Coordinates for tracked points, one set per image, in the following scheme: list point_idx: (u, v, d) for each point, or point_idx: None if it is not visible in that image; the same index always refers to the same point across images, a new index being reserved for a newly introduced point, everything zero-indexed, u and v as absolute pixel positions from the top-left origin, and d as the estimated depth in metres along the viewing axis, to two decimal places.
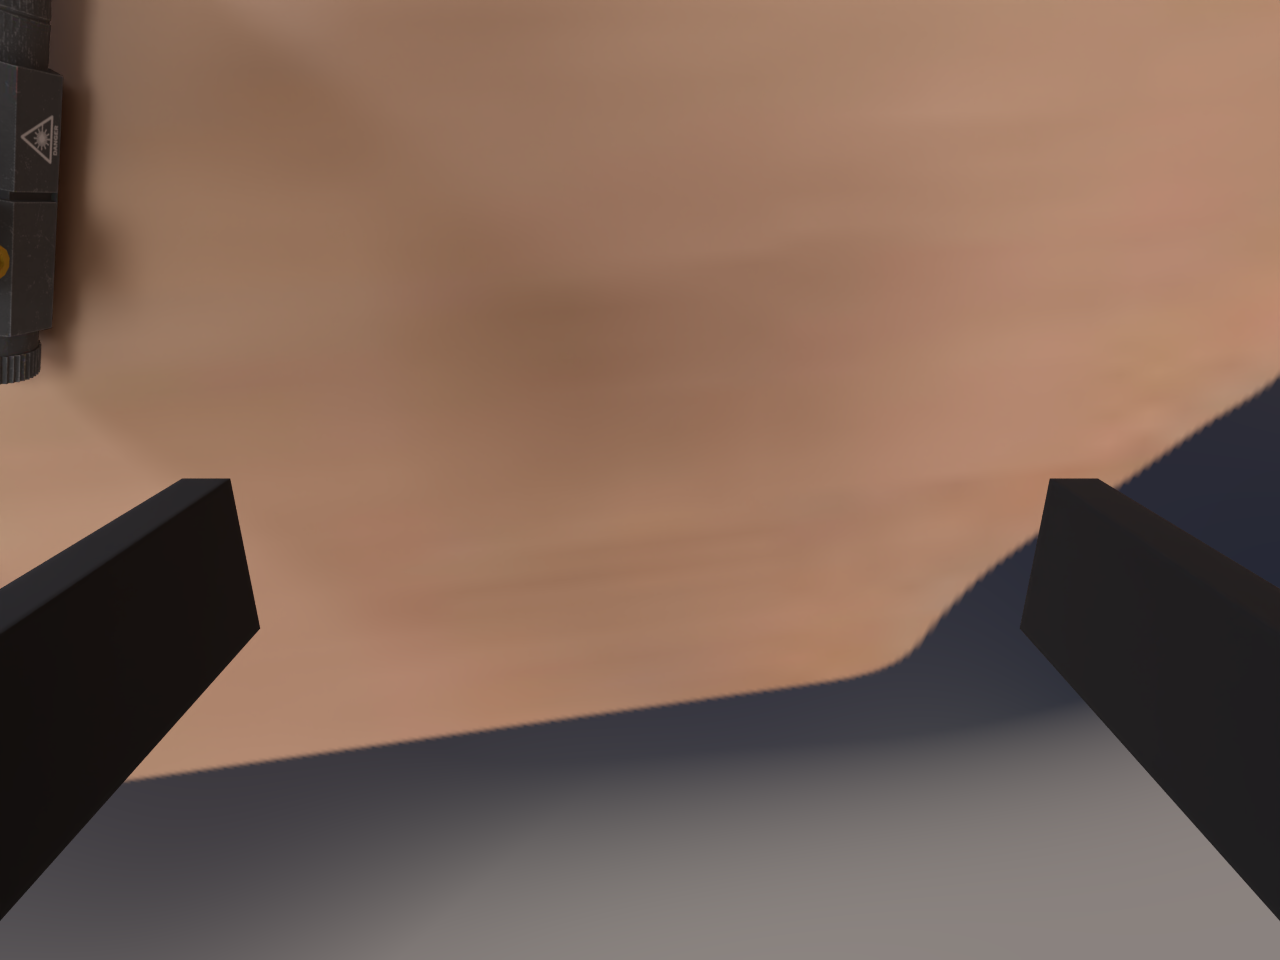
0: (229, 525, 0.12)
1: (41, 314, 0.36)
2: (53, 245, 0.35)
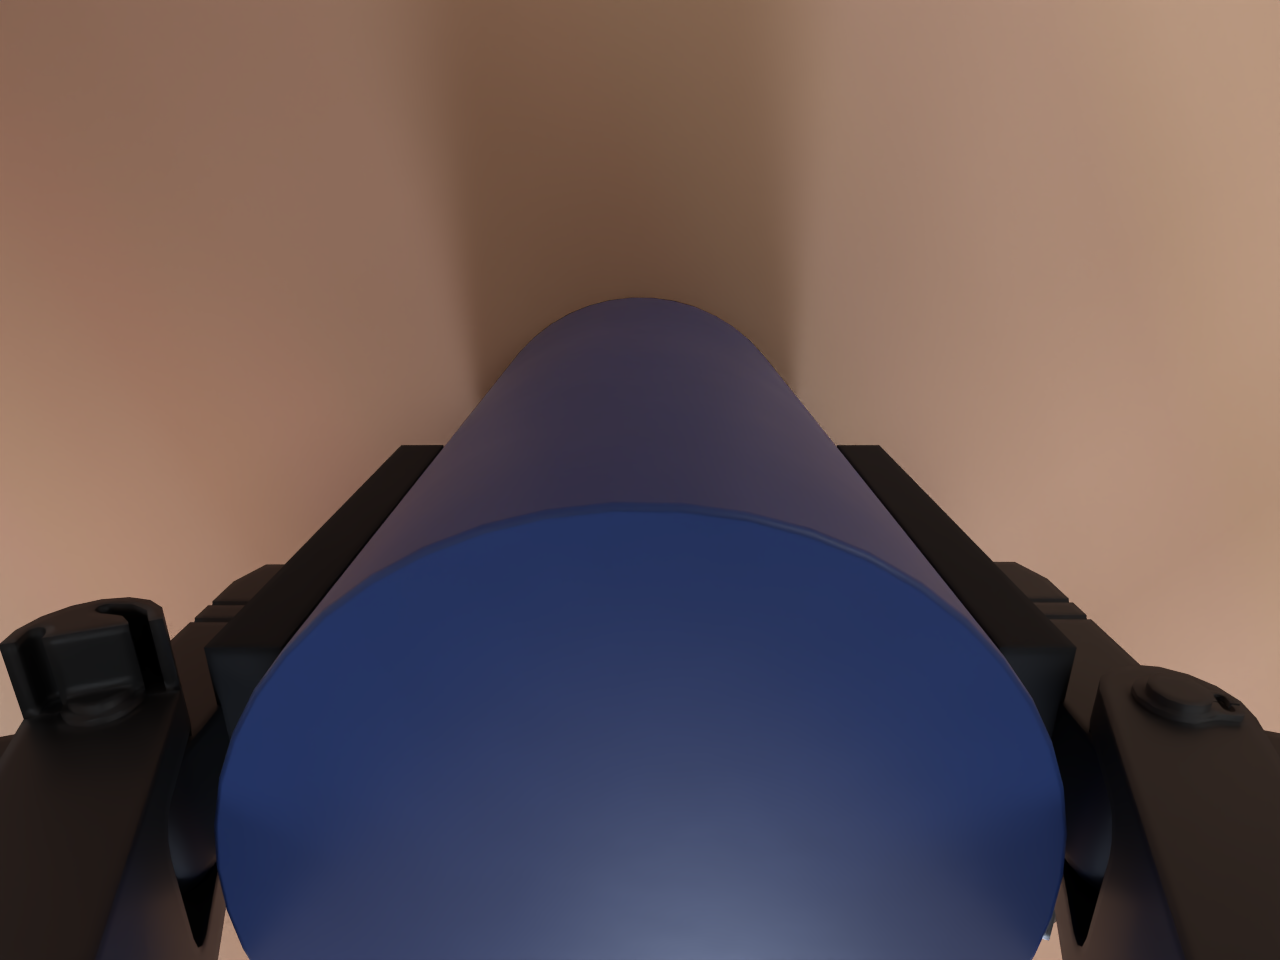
0: None
1: None
2: None
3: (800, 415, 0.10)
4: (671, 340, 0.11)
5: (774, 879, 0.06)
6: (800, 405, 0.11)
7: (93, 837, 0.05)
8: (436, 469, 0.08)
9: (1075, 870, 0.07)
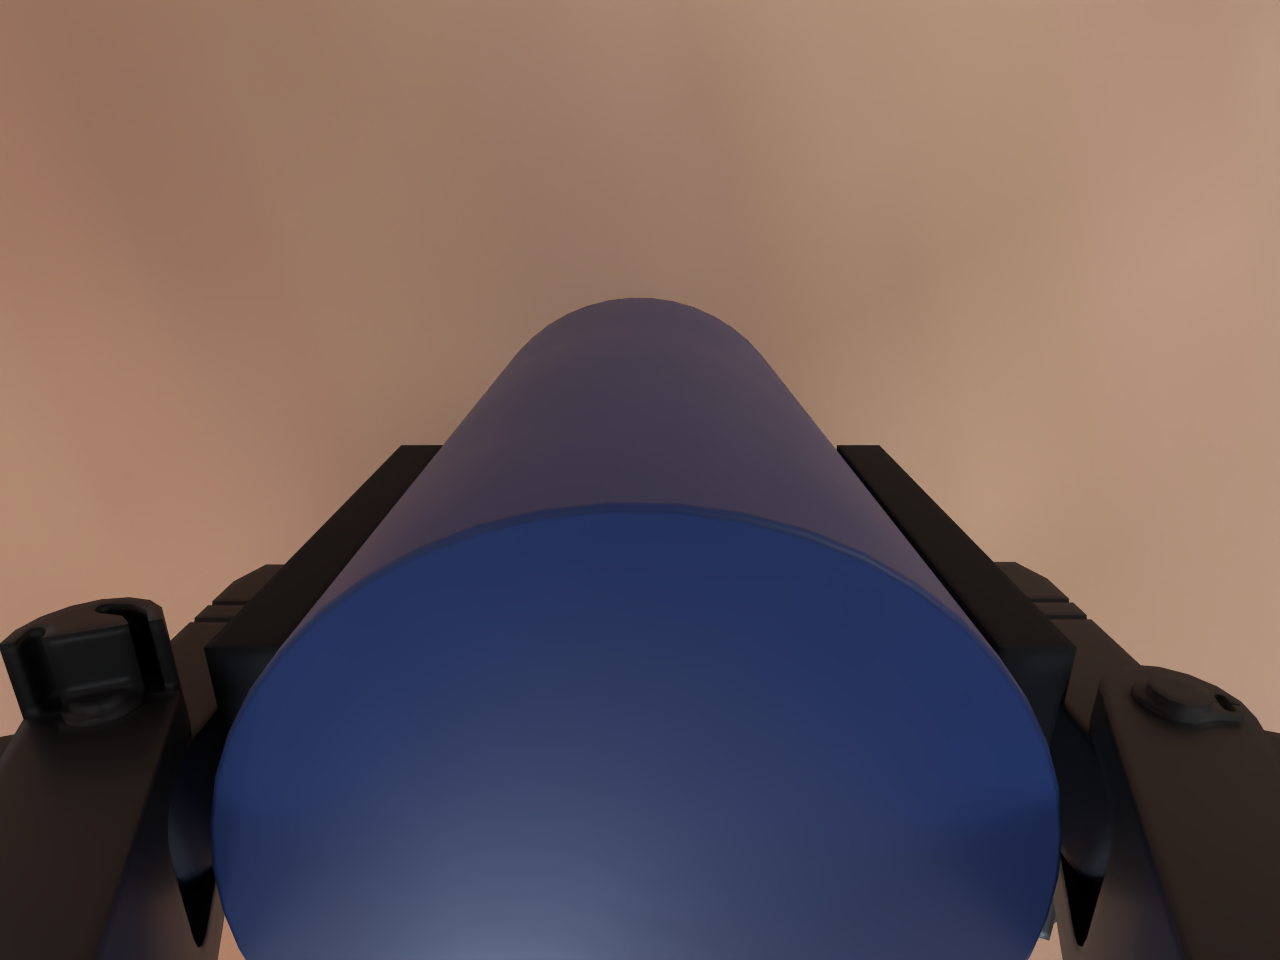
0: None
1: None
2: None
3: (797, 416, 0.10)
4: (669, 340, 0.11)
5: (769, 879, 0.06)
6: (798, 406, 0.11)
7: (94, 836, 0.05)
8: (433, 470, 0.08)
9: (1075, 870, 0.07)
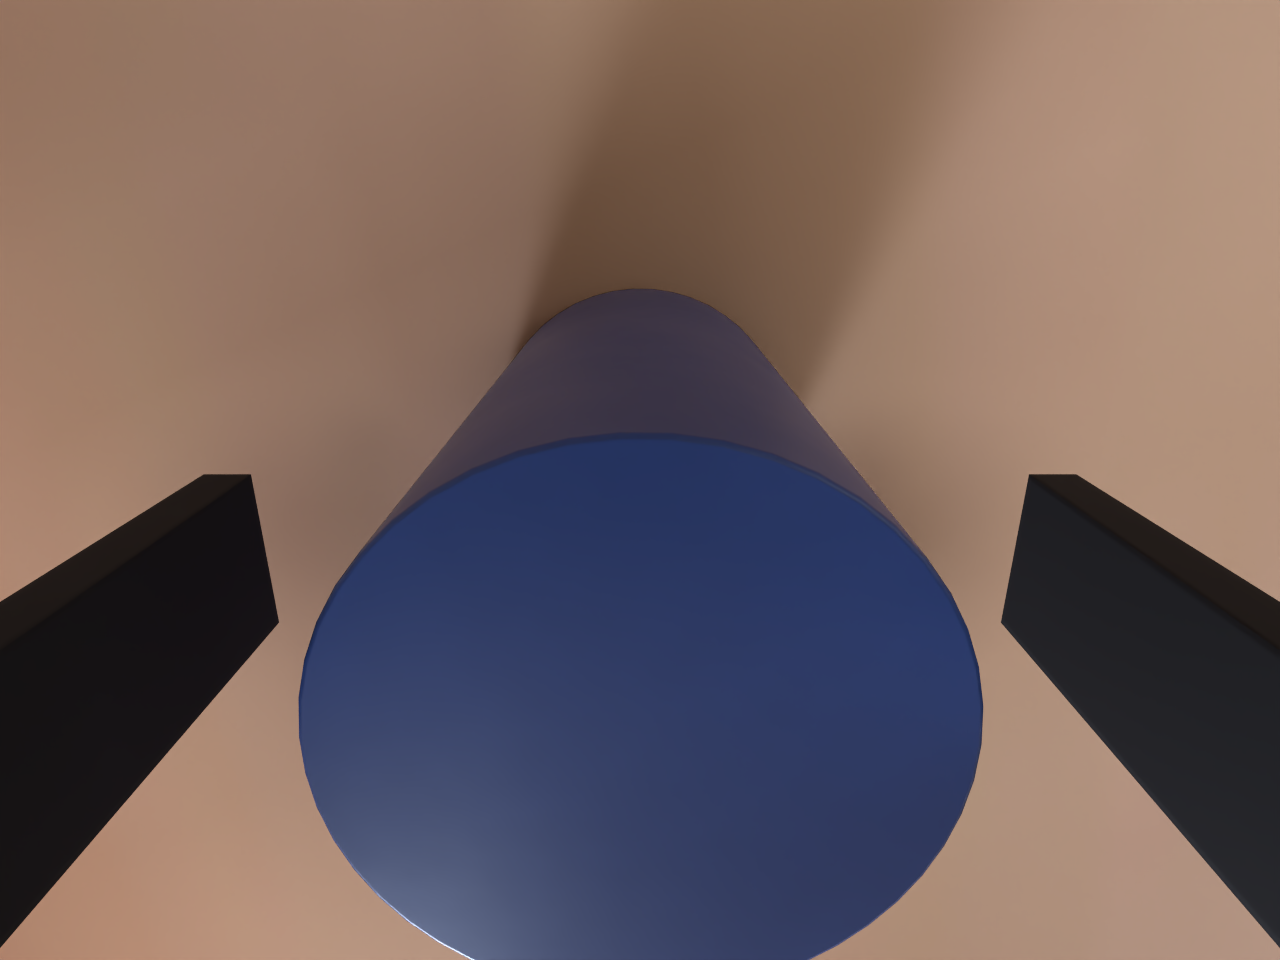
0: (250, 520, 0.12)
1: None
2: None
3: (779, 386, 0.11)
4: (667, 323, 0.13)
5: (747, 747, 0.08)
6: (781, 380, 0.13)
7: None
8: (468, 425, 0.09)
9: None
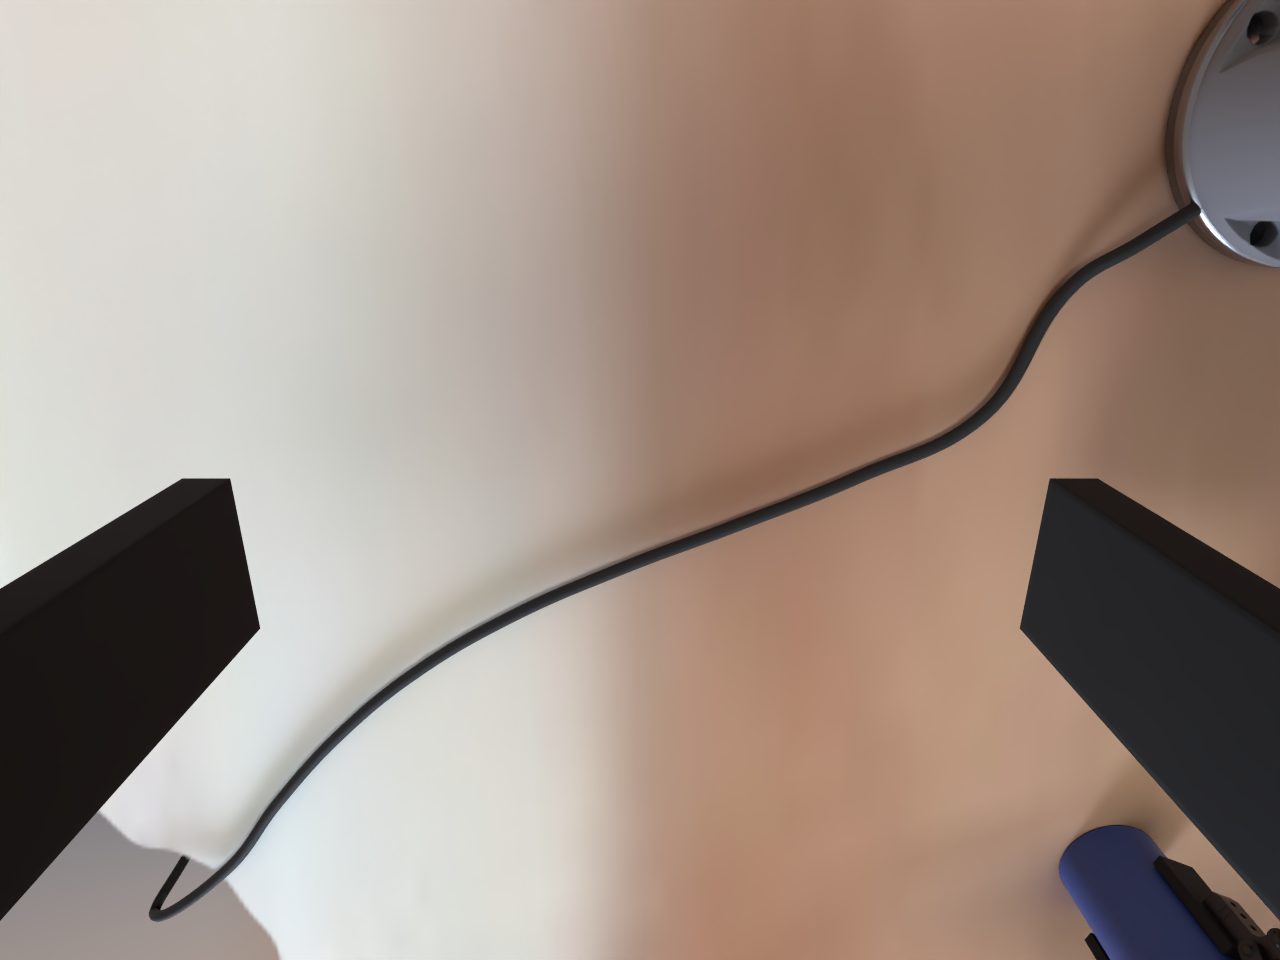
0: (229, 525, 0.12)
1: None
2: None
3: None
4: None
5: None
6: None
7: None
8: (1167, 947, 0.46)
9: None
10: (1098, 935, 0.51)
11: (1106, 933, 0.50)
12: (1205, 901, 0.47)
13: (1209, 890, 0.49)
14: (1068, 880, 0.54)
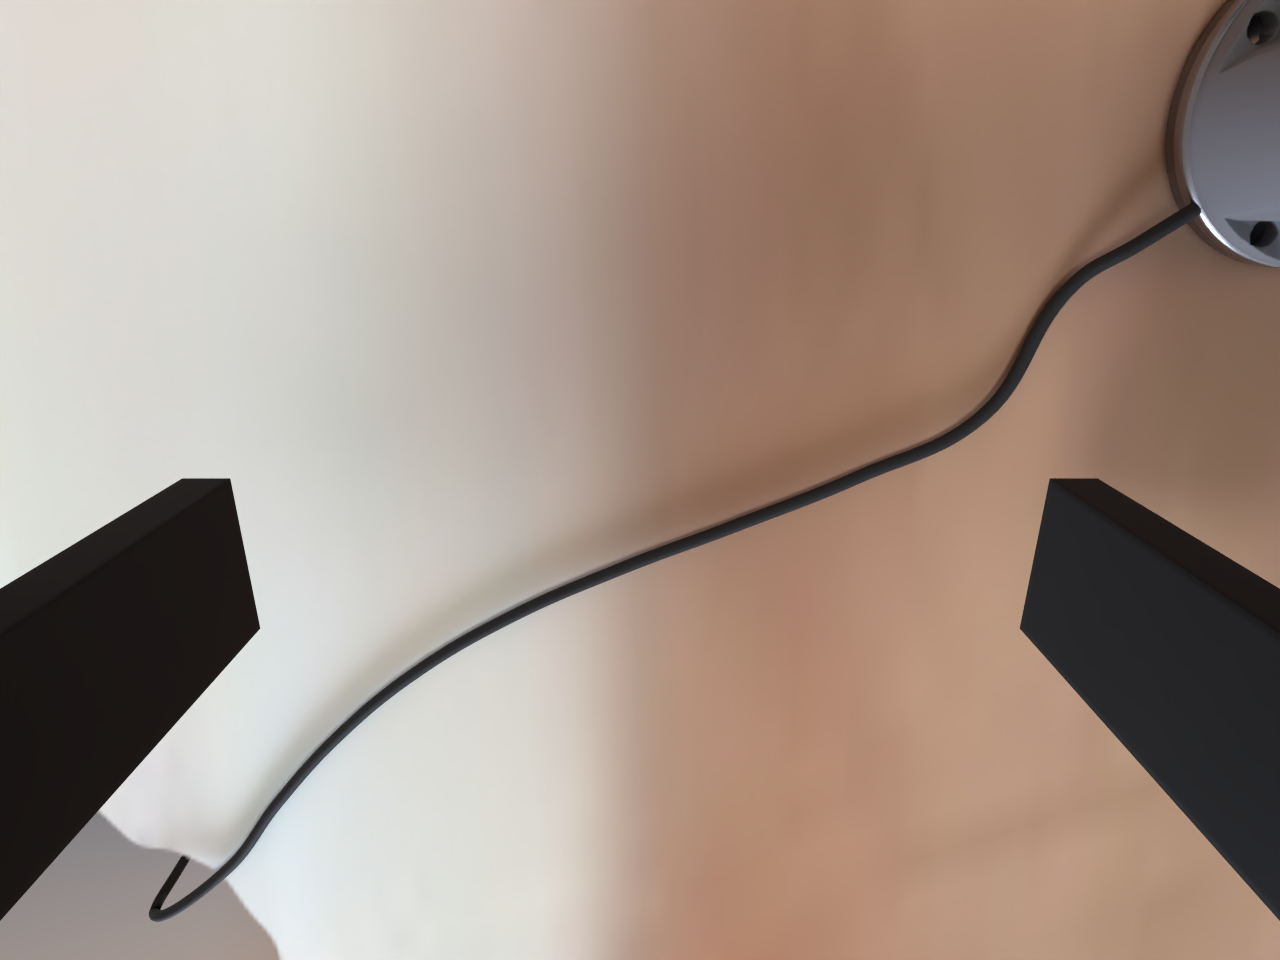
0: (229, 525, 0.12)
1: None
2: None
3: None
4: None
5: None
6: None
7: None
8: None
9: None
10: None
11: None
12: None
13: None
14: None
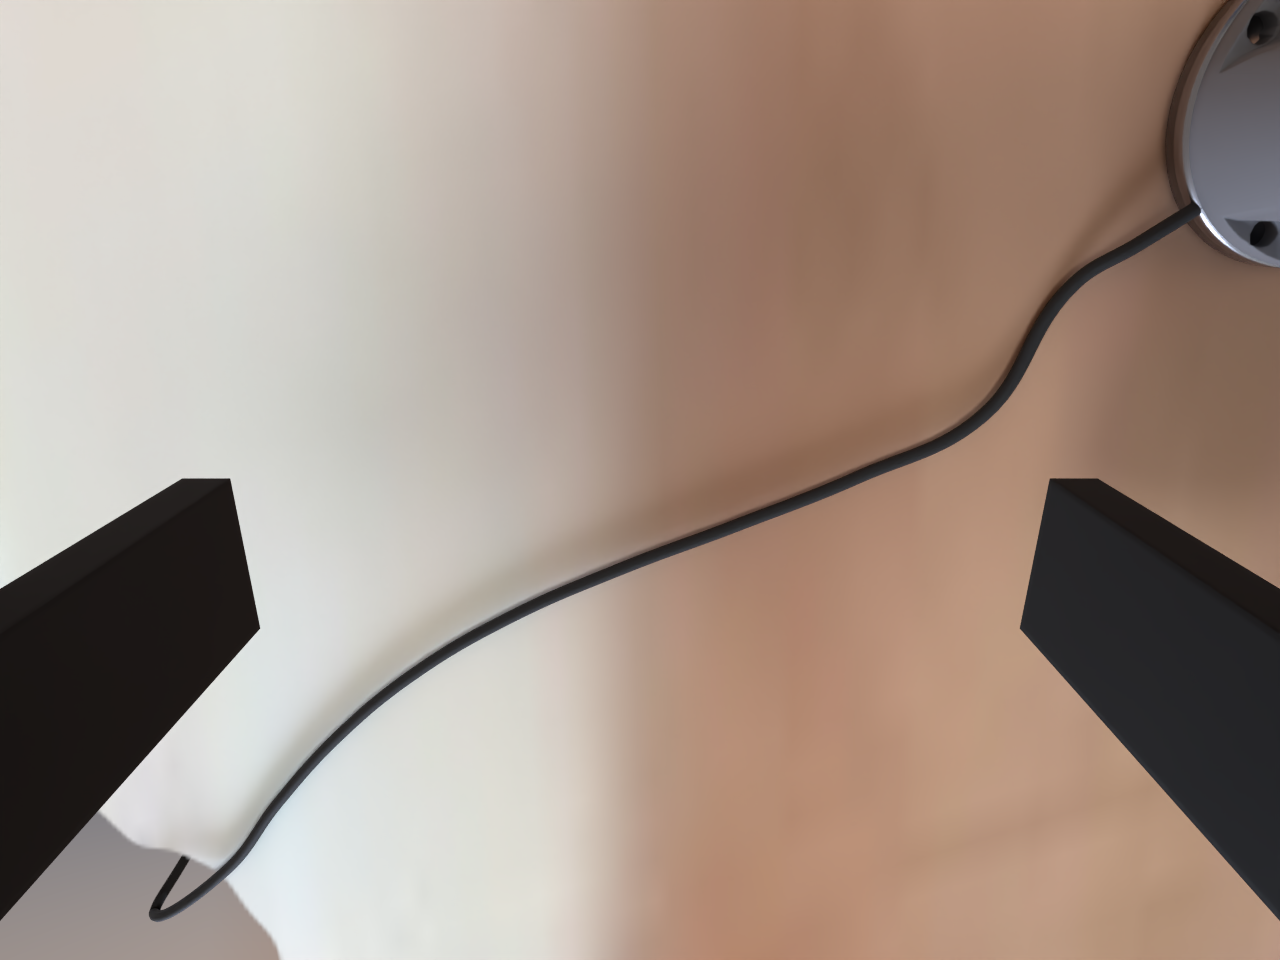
0: (229, 525, 0.12)
1: None
2: None
3: None
4: None
5: None
6: None
7: None
8: None
9: None
10: None
11: None
12: None
13: None
14: None
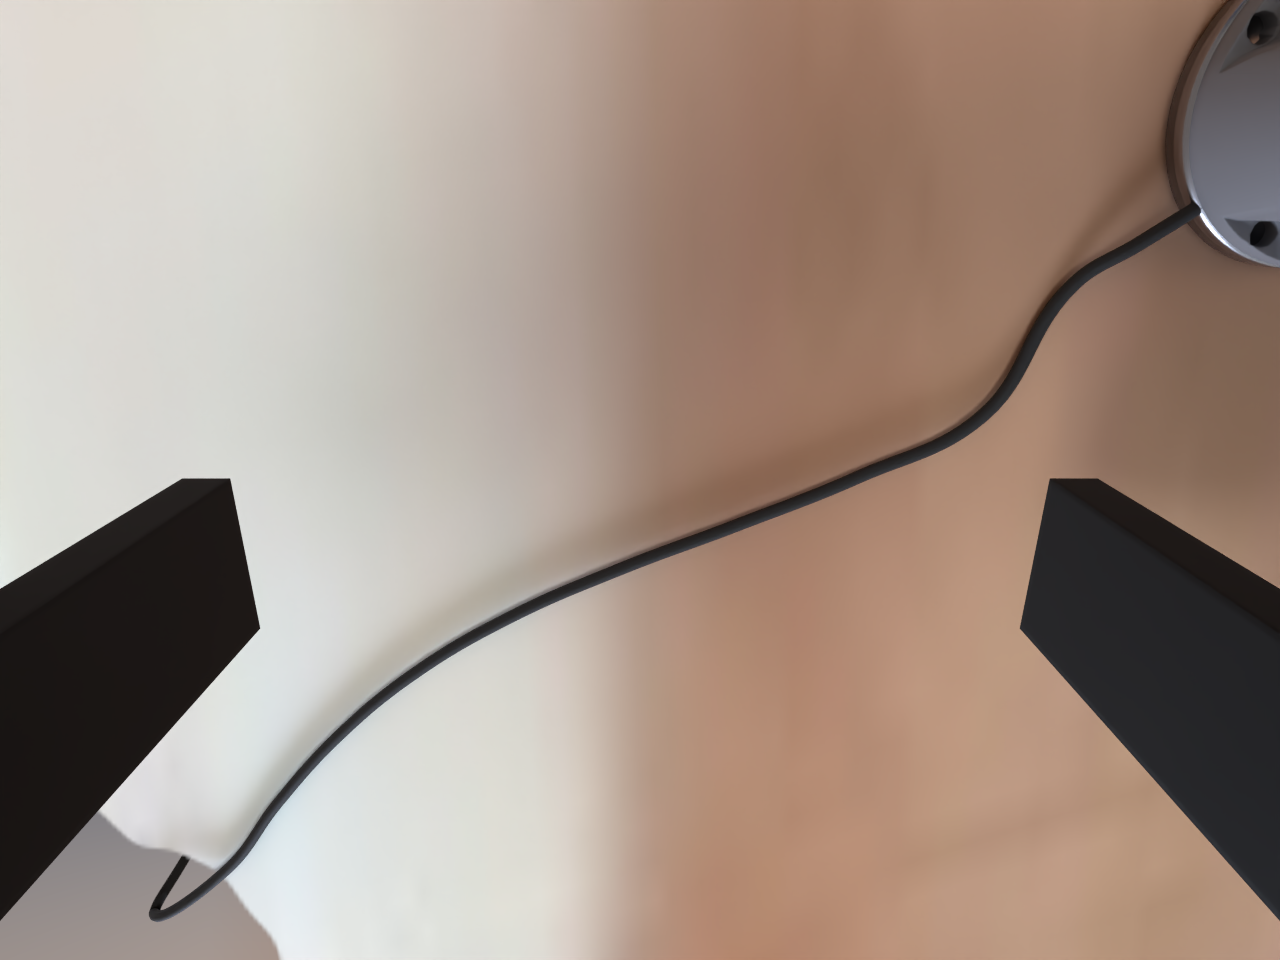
0: (229, 525, 0.12)
1: None
2: None
3: None
4: None
5: None
6: None
7: None
8: None
9: None
10: None
11: None
12: None
13: None
14: None
